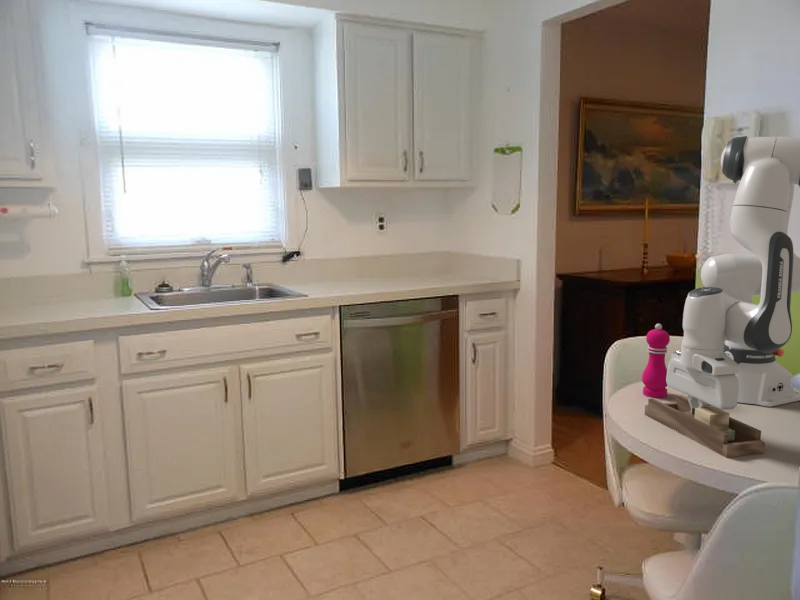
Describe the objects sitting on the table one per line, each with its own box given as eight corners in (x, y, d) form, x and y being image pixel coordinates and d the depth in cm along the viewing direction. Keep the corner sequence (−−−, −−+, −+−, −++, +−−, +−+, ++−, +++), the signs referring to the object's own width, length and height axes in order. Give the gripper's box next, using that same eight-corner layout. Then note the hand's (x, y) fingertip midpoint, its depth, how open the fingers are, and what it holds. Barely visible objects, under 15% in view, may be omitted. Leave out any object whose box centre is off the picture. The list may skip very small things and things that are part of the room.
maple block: (712, 422, 150) (714, 406, 150) (728, 430, 146) (729, 413, 145) (693, 424, 149) (695, 408, 149) (708, 432, 144) (710, 415, 144)
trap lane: (677, 411, 166) (678, 394, 166) (763, 452, 139) (765, 432, 138) (644, 414, 164) (645, 397, 163) (726, 457, 137) (727, 437, 136)
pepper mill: (637, 390, 184) (640, 321, 181) (663, 390, 184) (667, 321, 181) (646, 398, 177) (649, 326, 174) (673, 398, 177) (677, 326, 174)
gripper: (661, 349, 159) (658, 403, 161) (720, 370, 139) (716, 432, 141) (683, 347, 160) (680, 401, 162) (745, 368, 141) (741, 429, 143)
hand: (697, 416), depth 152 cm, fingers closed
